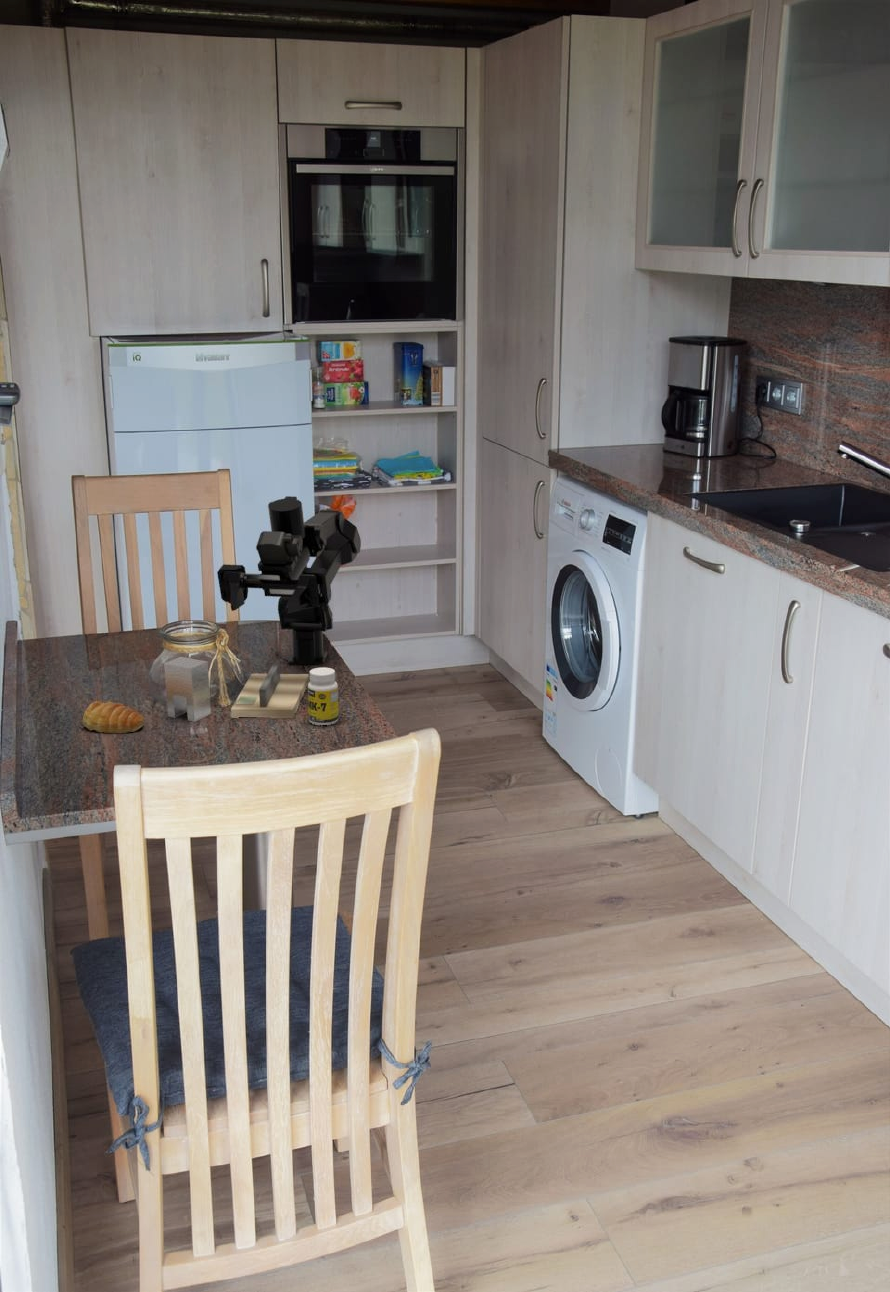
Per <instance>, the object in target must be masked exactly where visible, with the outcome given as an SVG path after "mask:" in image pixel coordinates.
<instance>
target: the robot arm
mask: <svg viewBox="0 0 890 1292" xmlns="http://www.w3.org/2000/svg"><path fill="white" fill-rule="evenodd" d="M267 508H268V516H269V523H270V530H271V531H269V530H265V531H261V532H260V534H259V537H258V539H257V540H258V541H257V543H256V546H255V549H256V551H257V553H258V556H259V559H260V560H259V562H258V563H257V570H258V571H259V572H261V573H246V567H245V566H244V565H243V564H226V563H225V564H222V565H221V567H220V568H219V569H218V570H217V579H218V584H219V585H218V586H219V592H220V596H221V597H220V598H221V600H222V601H224V603H228V604H230V609H231V611H232V612H234V611H237V610H238V609H239V608H241V607H242V606H243V605H245V603H246V600H247V599H248V594H249V589H262V590H263V593H264V597H274V598H275V597H277V598H278V597H279V599H278V604H277V611H278V612H277V613H278V618H279V623H280V628H281V629H280V630H290V631H291V632H290V633H291V652H292V653H290V654H291V655H290V656H289V658H288V660H287V662H288V663H287V664H289V665H323V664H324V663H325V660H326V658H327V656H328V651H326V650H324V635H323V632H327V631H329V630H333V629H334V625H333V622H334V621H333V620H334V619H333V612H332V609H331V607H330V605H329V603H330V601H331V600H332V589H331V585H332V583H333V581H334V579H335V577H336V576H337V574H338V572H339V570H340V568H341V567H342V566H344V565H347V564H350V563H352V562H353V561H354V560H355V559H356V558H357V556H358V554H360V552H361V547H362V545H361V544H362V540H361V536H360V534H359V531H358V527H357V526H356V525H355V524H353V522H351V521H350V520H349V519H347V518H346V517H345V514H344V512H343V511H340V510H338V509H320V510H317V511H316V512H315V514H314V515H313V516H311V517H310V518H309V519H307V520H304V511H303V503H302V502H301V500H299V499H298V498H297V496H289V495H288V496H285V497H284V498H280V499H276V500H274V501H270V502H269V503H268V504H267ZM311 558H314V561H313V562H312V564H311V565H310V567H308V563H309V561H310V559H311Z"/></svg>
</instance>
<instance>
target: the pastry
mask: <svg viewBox="0 0 890 1292" xmlns="http://www.w3.org/2000/svg"><path fill="white" fill-rule="evenodd" d="M144 724H145V716H143V715H142V714H141V713H139V711H138V710H136V709H132V707H130V706H125V705H124V704H122V703H121V702H120V703H119V702H116V703H115V702H113V701H108V702H105V703H104V702H102V701H96V700H95V701H94V702H91V703H90V704H89V705H88V707H87V708H86V709H85V711H84V714H83V718H82V725H83V726H84V727H86V728H87V730H89V731H91V732H93V730H94V731H96V732H98V733H103V732H104V734H105V733H109V734H126V733H131V732H133V733H134V732H136V731H138V730H139V729H141V728H142V727H144Z"/></svg>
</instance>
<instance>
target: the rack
mask: <svg viewBox="0 0 890 1292" xmlns="http://www.w3.org/2000/svg"><path fill="white" fill-rule="evenodd" d="M280 668H281V666H280V662H273V663H272V665H271V668H269V671H268V673H251V674H250V676H249V678H248V680H247V681H246V683H245V684H244V686H243V688H242V690H241V691H240V693H239V695H238V696H237V698H236V700H235V701H234V703H233V704H232V706H231V709H230V717H231V719H240V718H239V717H271V718H270V719H294V718H295V717H296V714H295V713H297V712H298V709H299V707H298V706H300V704H301V702H302V700H301V699H303V698H304V695H305V693H306V691H305V690H307V688H308V686H307V685H308V683H309V682H310V673H281V669H280ZM306 687H307V688H306ZM304 692H305V693H304ZM302 697H303V698H302ZM300 701H301V702H300Z"/></svg>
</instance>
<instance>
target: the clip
mask: <svg viewBox="0 0 890 1292" xmlns="http://www.w3.org/2000/svg"><path fill="white" fill-rule="evenodd" d="M163 665H164V667H163V668H164V680H165V692H166V707H167V717H169V718H173V719H176V718H178V717H180V716H182V715H184V714H186V713H187V721H188V722H192V723H196V722H198V721H200V720H202V719H205V718H207V717H209V716H211V715H212V710H211V694H210V678H209V663H208V661H206V660H203V659H201V660H200V659H197V658H196V659H195V658H190V657H185V656H179V657H176V658H174V659H172V660H169V661H166V662H165V663H163ZM210 714H211V715H210ZM208 715H209V716H208ZM206 716H207V717H206Z"/></svg>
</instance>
